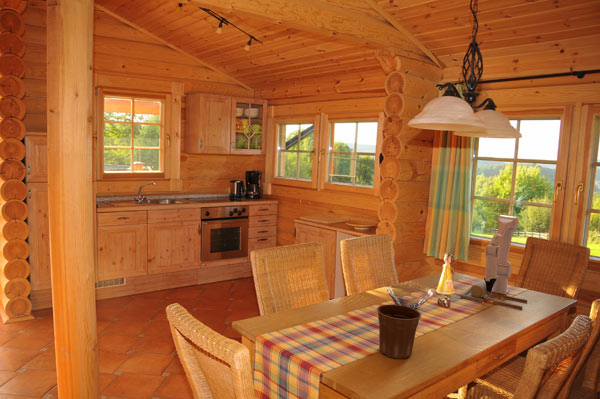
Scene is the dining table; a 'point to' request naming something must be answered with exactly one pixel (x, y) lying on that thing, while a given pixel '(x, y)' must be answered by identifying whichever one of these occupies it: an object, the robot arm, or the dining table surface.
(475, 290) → the speckled coffee cup
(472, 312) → the dining table surface
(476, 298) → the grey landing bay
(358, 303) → the dining table surface
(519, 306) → the walnut dock
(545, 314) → the dining table surface
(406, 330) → the plant pot
